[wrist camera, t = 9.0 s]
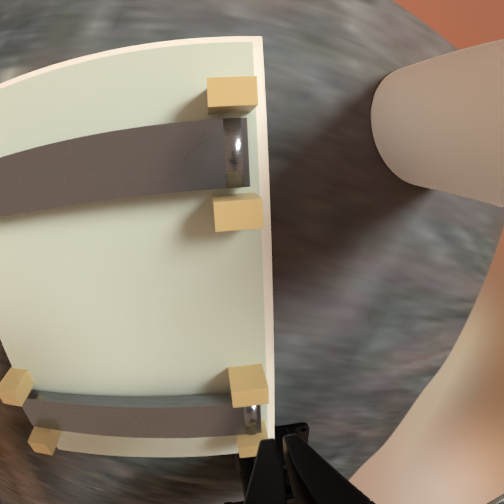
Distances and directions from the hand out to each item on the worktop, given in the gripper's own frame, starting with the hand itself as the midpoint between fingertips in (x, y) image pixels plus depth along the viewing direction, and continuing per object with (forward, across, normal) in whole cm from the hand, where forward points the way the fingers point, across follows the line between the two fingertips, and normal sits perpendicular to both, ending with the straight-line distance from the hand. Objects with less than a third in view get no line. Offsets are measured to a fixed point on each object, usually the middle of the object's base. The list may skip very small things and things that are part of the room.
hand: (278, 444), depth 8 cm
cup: (+12, -13, -10) cm, 20 cm away
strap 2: (+6, +7, +4) cm, 10 cm away
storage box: (+12, +6, -2) cm, 14 cm away
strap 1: (+6, +6, -8) cm, 12 cm away
